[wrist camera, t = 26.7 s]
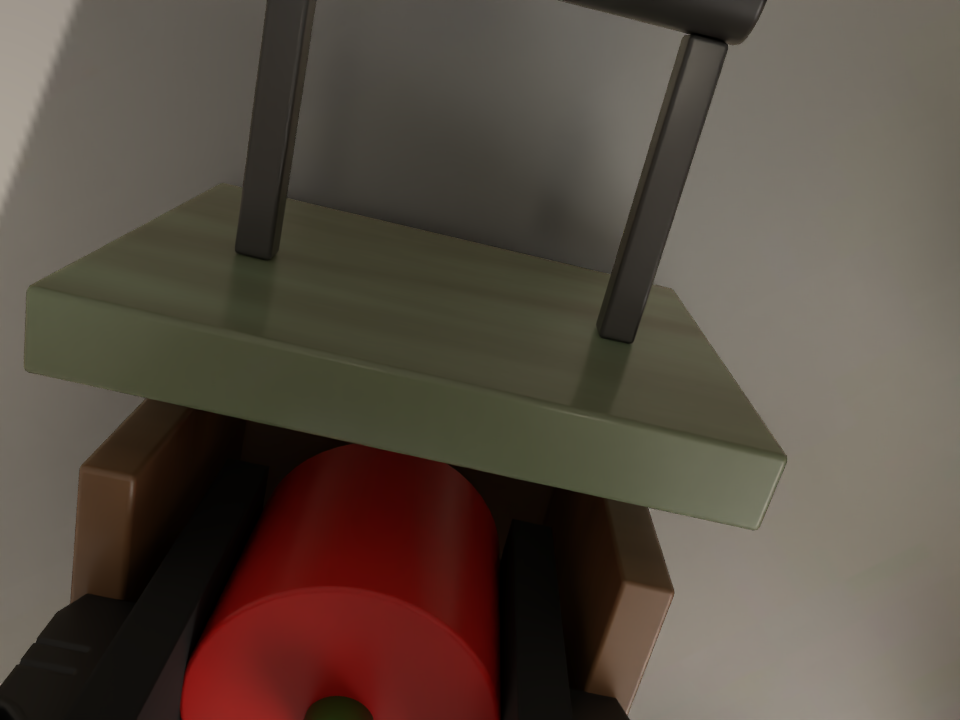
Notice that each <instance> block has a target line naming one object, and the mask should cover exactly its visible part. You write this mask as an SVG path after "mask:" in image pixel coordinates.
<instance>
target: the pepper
mask: <svg viewBox="0 0 960 720" xmlns="http://www.w3.org/2000/svg"><path fill="white" fill-rule="evenodd" d="M180 713H181V720H501V665H500V548H499V539H498V533H497V529H496V525H495V522H494V519H493V517H492V515H491V512H490V510H489V508H488V506H487V505H486V503H485V501H484V500H483V498H482V496H481V495H480V494H479V493H478V491H477V490H476V489H475V488H474V486H473V485H472V484H471V483H470V482H469V481H468V480H467V479H466V478H465V477H463V476H462V475H461V474H460V473H459V472H458V471H456V470H455V469H454V468H452V467H451V466H449V465H448V464H446V463H442V462H438V461H433V460H428V459H424V458H419V457H415V456H410V455H405V454H401V453H396V452H392V451H387V450H383V449H378V448H373V447H369V446H364V445H360V444H350V445H345V446H340V447H336V448H333V449H330V450H327V451H324V452H321V453H319V454H317V455H315V456H313V457H311V458H309V459H307V460H306V461H304V462H303V463H301V464H300V465H298V466H297V467H295V468H294V469H293V470H292V471H291V472H290V473H289V474H287V475H286V476H285V477H284V478H283V479H282V481H281V482H280V483H279V484H278V485H277V487H276V488H275V489H274V491H273V492H272V494H271V496H270V497H269V499H268V501H267V503H266V505H265V507H264V509H263V511H262V513H261V515H260V517H259V519H258V521H257V523H256V525H255V527H254V529H253V531H252V533H251V535H250V537H249V539H248V541H247V543H246V545H245V547H244V549H243V551H242V553H241V555H240V557H239V559H238V561H237V563H236V565H235V567H234V569H233V571H232V573H231V575H230V577H229V579H228V581H227V583H226V585H225V587H224V589H223V591H222V593H221V596H220V598H219V600H218V602H217V604H216V606H215V608H214V610H213V612H212V614H211V616H210V618H209V620H208V622H207V624H206V626H205V628H204V630H203V632H202V634H201V636H200V638H199V640H198V642H197V644H196V646H195V648H194V650H193V652H192V654H191V656H190V658H189V661H188V663H187V666H186V670H185V674H184V679H183V686H182V693H181V701H180Z"/></svg>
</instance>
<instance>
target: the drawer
mask: <svg viewBox="0 0 960 720" xmlns="http://www.w3.org/2000/svg"><path fill="white" fill-rule="evenodd" d="M559 1H562V2H566V3H570V4H574V5H578V6H582V7H586V8H590V9H594V10H598V11H601V12H605V13H609V14H613V15H617V16H621V17H625V18H629V19H633V20H637V21H640V22H644V23H648V24H652V25H656V26H660V27H664V28H668V29H672V30H676V31H679V32H683V33H687V34H691V35H684V37H683V38H682V40H681V44H680V47H679V50H678V54H677V57H676V60H675V64H674V67H673V70H672V73H671V77H670V80H669V83H668V87H667V90H666V93H665V97H664V100H663V103H662V107H661V110H660V113H659V117H658V120H657V123H656V126H655V130H654V133H653V136H652V140H651V143H650V146H649V150H648V153H647V156H646V160H645V163H644V166H643V170H642V173H641V176H640V180H639V183H638V186H637V189H636V193H635V196H634V199H633V203H632V206H631V209H630V213H629V216H628V219H627V223H626V226H625V229H624V233H623V236H622V239H621V242H620V246H619V249H618V252H617V256H616V259H615V262H614V266H613V269H612V272H611V274H607V273H603V272H599V271H594V270H590V269H586V268H582V267H577V266H573V265H569V264H565V263H561V262H556V261H552V260H548V259H544V258H539V257H535V256H531V255H527V254H522V253H518V252H514V251H510V250H505V249H501V248H497V247H493V246H488V245H484V244H480V243H476V242H471V241H467V240H463V239H459V238H454V237H450V236H446V235H442V234H438V233H433V232H429V231H425V230H421V229H416V228H412V227H408V226H404V225H399V224H395V223H391V222H387V221H382V220H378V219H374V218H370V217H365V216H361V215H357V214H353V213H348V212H344V211H340V210H336V209H331V208H327V207H323V206H319V205H315V204H310V203H306V202H302V201H298V200H293V199H289V198H287V192H288V186H289V179H290V172H291V166H292V159H293V153H294V146H295V139H296V133H297V126H298V119H299V113H300V106H301V99H302V93H303V86H304V79H305V73H306V66H307V59H308V53H309V46H310V40H311V33H312V26H313V20H314V13H315V6H316V0H267V3H266V11H265V19H264V26H263V34H262V42H261V49H260V57H259V65H258V72H257V80H256V88H255V95H254V103H253V111H252V118H251V126H250V134H249V141H248V149H247V157H246V164H245V172H244V180H243V187H238V186H234V185H230V184H225V183H221V184H218V185H217V186H215V187H213V188H211V189H209V190H207V191H205V192H204V193H202V194H200V195H198V196H196V197H194V198H192V199H190V200H189V201H187V202H185V203H183V204H181V205H179V206H177V207H176V208H174V209H172V210H170V211H168V212H166V213H164V214H162V215H161V216H159V217H157V218H155V219H153V220H151V221H149V222H148V223H146V224H144V225H142V226H140V227H138V228H136V229H134V230H133V231H131V232H129V233H127V234H125V235H123V236H121V237H119V238H118V239H116V240H114V241H112V242H110V243H108V244H106V245H105V246H103V247H101V248H99V249H97V250H95V251H93V252H91V253H90V254H88V255H86V256H84V257H82V258H80V259H78V260H77V261H75V262H73V263H71V264H69V265H67V266H65V267H63V268H62V269H60V270H58V271H56V272H54V273H52V274H50V275H49V276H47V277H45V278H43V279H41V280H39V281H37V282H35V283H34V284H32V285H30V286H29V288H28V289H27V292H26V318H25V344H24V369H25V371H27V372H29V373H34V374H38V375H43V376H48V377H52V378H57V379H61V380H66V381H71V382H75V383H80V384H84V385H89V386H93V387H98V388H103V389H107V390H112V391H116V392H121V393H126V394H130V395H135V396H139V397H144V398H146V399H145V400H144V401H143V402H142V403H141V404H140V405H139V406H138V407H137V408H136V409H135V410H134V411H133V412H132V413H131V414H130V415H129V416H128V417H127V418H126V419H125V420H124V422H123V423H122V424H121V425H120V426H119V427H118V428H117V429H116V430H115V431H114V432H113V433H112V434H111V435H110V436H109V437H108V438H107V439H106V440H105V441H104V442H103V443H102V444H101V445H100V446H99V447H98V448H97V449H96V450H95V451H94V452H93V454H92V455H91V456H90V457H89V458H88V459H87V460H86V461H85V462H84V463H83V464H82V465H81V467H80V469H79V483H78V498H77V513H76V527H75V542H74V557H73V571H72V586H71V601H70V604H71V603H72V602H74V601H76V600H77V599H79V598H80V597H82V596H84V595H85V594H87V593H88V594H93V595H98V596H103V597H108V598H113V599H120V600H125V601H130V602H135V603H136V602H137V601H138V599H139V597H140V596H141V594H142V593H143V591H144V590H145V588H146V586H147V585H148V583H149V582H150V580H151V579H152V577H153V575H154V574H155V572H156V571H157V569H158V568H159V566H160V564H161V563H162V561H163V560H164V558H165V557H166V555H167V553H168V552H169V550H170V549H171V547H172V546H173V544H174V542H175V541H176V539H177V538H178V536H179V535H180V533H181V531H182V530H183V528H184V527H185V525H186V524H187V522H188V520H189V519H190V517H191V516H192V514H193V513H194V511H195V510H196V508H197V506H198V505H199V503H200V502H201V500H202V499H203V497H204V495H205V494H206V492H207V491H208V489H209V488H210V486H211V484H212V483H213V481H214V480H215V478H216V477H217V475H218V473H219V472H220V470H221V469H222V467H223V466H224V464H225V462H226V461H227V459H228V458H231V459H236V460H241V461H245V462H250V463H255V464H259V465H264V466H269V473H268V479H267V486H266V492H265V498H264V504H263V509H264V507H265V505H266V503H267V501H268V499H269V497H270V496H271V494H272V492H273V491H274V489H275V488H276V487H277V485H278V484H279V483H280V482H281V481H282V479H283V478H284V477H285V476H286V475H287V474H289V473H290V472H291V471H292V470H293V469H294V468H295V467H297V466H298V465H300V464H301V463H303V462H304V461H306V460H307V459H309V458H311V457H313V456H315V455H317V454H319V453H321V452H324V451H327V450H330V449H333V448H336V447H340V446H345V445H350V444H360V445H364V446H369V447H373V448H378V449H383V450H387V451H392V452H396V453H401V454H405V455H410V456H415V457H419V458H424V459H428V460H433V461H438V462H442V463H446V464H448V465H449V466H451V467H452V468H454V469H455V470H456V471H458V472H459V473H460V474H461V475H462V476H463V477H465V478H466V479H467V480H468V481H469V482H470V483H471V484H472V485H473V486H474V488H475V489H476V490H477V491H478V493H479V494H480V495H481V496H482V498H483V500H484V501H485V503H486V505H487V506H488V508H489V510H490V512H491V515H492V517H493V519H494V522H495V525H496V529H497V533H498V539H499V548H500V560H501V556H502V553H503V549H504V546H505V543H506V539H507V536H508V532H509V529H510V525H511V522H512V519H516V520H520V521H525V522H530V523H534V524H539V525H544V526H548V527H552V534H553V543H554V552H555V562H556V571H557V580H558V589H559V598H560V607H561V617H562V626H563V635H564V644H565V653H566V662H567V671H568V681H569V688H572V689H577V690H582V691H586V692H588V693H593V694H598V695H603V696H608V697H613V698H616V699H617V700H618V702H619V703H620V705H621V706H622V708H623V710H624V711H625V713H626V714H627V715H628V713H629V710H630V708H631V705H632V702H633V700H634V697H635V695H636V692H637V689H638V687H639V684H640V682H641V679H642V676H643V674H644V671H645V669H646V666H647V664H648V661H649V658H650V656H651V653H652V651H653V648H654V645H655V643H656V640H657V638H658V635H659V632H660V630H661V627H662V625H663V622H664V619H665V617H666V614H667V612H668V609H669V607H670V604H671V601H672V599H673V596H674V588H673V585H672V582H671V579H670V576H669V572H668V569H667V566H666V563H665V560H664V557H663V553H662V550H661V547H660V544H659V541H658V538H657V534H656V531H655V528H654V525H653V522H652V519H651V515H650V512H649V509H648V507H649V508H653V509H658V510H662V511H667V512H672V513H676V514H681V515H685V516H690V517H694V518H699V519H704V520H708V521H713V522H717V523H722V524H727V525H731V526H736V527H740V528H745V529H750V530H758V528H759V527H760V525H761V523H762V520H763V518H764V516H765V513H766V511H767V508H768V506H769V504H770V501H771V499H772V496H773V494H774V492H775V489H776V487H777V484H778V482H779V480H780V477H781V475H782V472H783V470H784V468H785V465H786V463H787V455H786V454H785V452H784V451H783V449H782V448H781V447H780V445H779V444H778V442H777V441H776V439H775V438H774V436H773V435H772V433H771V432H770V430H769V429H768V428H767V426H766V425H765V423H764V422H763V420H762V419H761V417H760V416H759V414H758V413H757V411H756V410H755V409H754V407H753V406H752V404H751V403H750V401H749V400H748V398H747V397H746V395H745V394H744V392H743V391H742V390H741V388H740V387H739V385H738V384H737V382H736V381H735V379H734V378H733V376H732V375H731V373H730V372H729V371H728V369H727V368H726V366H725V365H724V363H723V362H722V360H721V359H720V357H719V356H718V354H717V353H716V352H715V350H714V349H713V347H712V346H711V344H710V343H709V341H708V340H707V338H706V337H705V335H704V334H703V333H702V331H701V330H700V328H699V327H698V325H697V324H696V322H695V321H694V319H693V318H692V316H691V315H690V314H689V312H688V311H687V309H686V308H685V306H684V305H683V303H682V302H681V300H680V299H679V297H678V296H677V295H676V293H675V292H674V290H672V289H671V288H667V287H662V286H658V285H654V284H653V281H654V278H655V275H656V272H657V269H658V266H659V262H660V259H661V256H662V253H663V250H664V247H665V244H666V241H667V238H668V234H669V231H670V228H671V225H672V222H673V219H674V216H675V213H676V210H677V207H678V203H679V200H680V197H681V194H682V191H683V188H684V185H685V182H686V179H687V175H688V172H689V169H690V166H691V163H692V160H693V157H694V154H695V151H696V148H697V144H698V141H699V138H700V135H701V132H702V129H703V126H704V123H705V120H706V116H707V113H708V110H709V107H710V104H711V101H712V98H713V95H714V92H715V88H716V85H717V82H718V79H719V76H720V73H721V70H722V67H723V64H724V61H725V57H726V54H727V51H728V44H730V45H737V44H741V43H742V42H743V41H744V40H745V39H746V38H747V37H748V35H749V34H750V33H751V31H752V30H753V28H754V27H755V25H756V23H757V21H758V19H759V17H760V15H761V13H762V11H763V9H764V6H765V4H766V1H767V0H559ZM262 511H263V510H262Z"/></svg>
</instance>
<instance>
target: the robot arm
mask: <svg viewBox="0 0 960 720" xmlns="http://www.w3.org/2000/svg"><path fill="white" fill-rule="evenodd" d="M268 473H269V466H264V465H259V464H255V463H250V462H245V461H241V460H236V459H231V458H228V459H227V461H226V462H225V464H224V466H223V467H222V469H221V470H220V472H219V473H218V475H217V477H216V478H215V480H214V481H213V483H212V484H211V486H210V488H209V489H208V491H207V492H206V494H205V495H204V497H203V499H202V500H201V502H200V503H199V505H198V506H197V508H196V510H195V511H194V513H193V514H192V516H191V517H190V519H189V520H188V522H187V524H186V525H185V527H184V528H183V530H182V531H181V533H180V535H179V536H178V538H177V539H176V541H175V542H174V544H173V546H172V547H171V549H170V550H169V552H168V553H167V555H166V557H165V558H164V560H163V561H162V563H161V564H160V566H159V568H158V569H157V571H156V572H155V574H154V575H153V577H152V579H151V580H150V582H149V583H148V585H147V586H146V588H145V590H144V591H143V593H142V594H141V596H140V597H139V599H138V601H137V602H136V603H135V602H130V601H125V600H120V599H113V598H108V597H103V596H98V595H93V594H88V593H87V594H85V595H84V596H82V597H80V598H79V599H77V600H76V601H74V602H72V603H71V604H69V605H68V606H66V607H64V608H63V609H61V610H60V611H58V612H57V613H56V614H55V615H54V617H53V618H52V619H51V621H50V622H49V623H48V624H47V626H46V627H45V628H44V630H43V631H42V632H41V634H40V635H39V636H38V638H37V641H36V643H33V644H32V645H31V647H30V648H29V649H28V651H27V652H26V653H25V655H24V656H23V657H22V659H21V662H20V664H19V665H16V666H15V668H14V669H13V670H12V672H11V673H10V674H9V676H8V677H7V678H6V679H5V681H4V682H3V683H2V685H1V686H0V720H181V713H180V701H181V693H182V686H183V679H184V674H185V670H186V666H187V663H188V661H189V658H190V656H191V654H192V652H193V650H194V648H195V646H196V644H197V642H198V640H199V638H200V636H201V634H202V632H203V630H204V628H205V626H206V624H207V622H208V620H209V618H210V616H211V614H212V612H213V610H214V608H215V606H216V604H217V602H218V600H219V598H220V596H221V593H222V591H223V589H224V587H225V585H226V583H227V581H228V579H229V577H230V575H231V573H232V571H233V569H234V567H235V565H236V563H237V561H238V559H239V557H240V555H241V553H242V551H243V549H244V547H245V545H246V543H247V541H248V539H249V537H250V535H251V533H252V531H253V529H254V527H255V525H256V523H257V521H258V519H259V517H260V515H261V513H262V510H263V504H264V498H265V492H266V486H267V479H268ZM500 665H501V720H630V719H629V718H628V716H627V714H626V713H625V711H624V710H623V708H622V706H621V705H620V703H619V702H618V700H617V699H616V698H613V697H608V696H603V695H598V694H593V693H588V692H586V691H582V690H577V689H572V688H569V681H568V671H567V662H566V653H565V644H564V635H563V626H562V617H561V607H560V598H559V589H558V580H557V571H556V562H555V552H554V543H553V534H552V527H548V526H544V525H539V524H534V523H530V522H525V521H520V520H516V519H512V522H511V525H510V529H509V532H508V536H507V539H506V543H505V546H504V549H503V553H502V556H501V560H500Z"/></svg>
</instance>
